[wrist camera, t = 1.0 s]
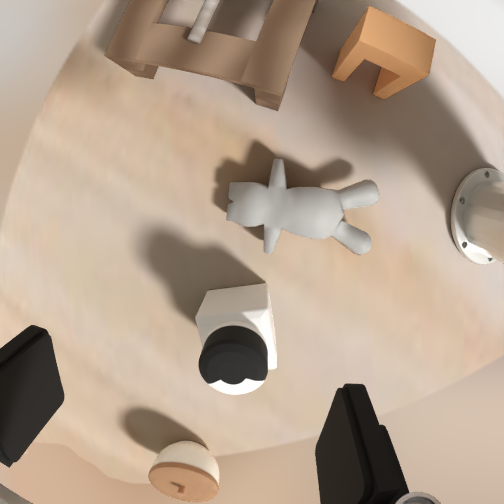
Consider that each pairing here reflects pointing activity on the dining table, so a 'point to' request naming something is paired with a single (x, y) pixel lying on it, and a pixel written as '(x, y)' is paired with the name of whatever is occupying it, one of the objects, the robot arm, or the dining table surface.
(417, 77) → the orange boxy part
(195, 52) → the brown square frame
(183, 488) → the lidded jar
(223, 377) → the medicine bottle
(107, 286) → the dining table surface
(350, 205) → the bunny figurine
